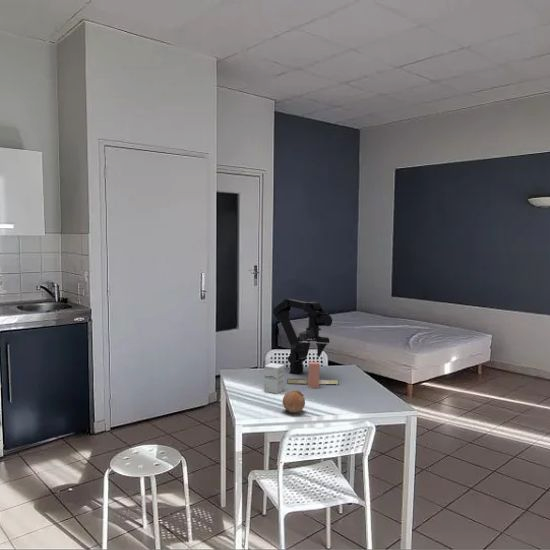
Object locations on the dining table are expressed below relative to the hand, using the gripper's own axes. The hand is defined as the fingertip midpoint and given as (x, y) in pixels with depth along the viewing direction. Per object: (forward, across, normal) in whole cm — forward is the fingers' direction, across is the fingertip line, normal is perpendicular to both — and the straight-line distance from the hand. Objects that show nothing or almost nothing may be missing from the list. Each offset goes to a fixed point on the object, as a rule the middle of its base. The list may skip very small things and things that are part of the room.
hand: (312, 356), depth 265 cm
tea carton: (+15, +8, -5) cm, 17 cm away
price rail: (+14, +4, -2) cm, 14 cm away
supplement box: (+17, +1, -26) cm, 31 cm away
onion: (+23, +28, -36) cm, 51 cm away
